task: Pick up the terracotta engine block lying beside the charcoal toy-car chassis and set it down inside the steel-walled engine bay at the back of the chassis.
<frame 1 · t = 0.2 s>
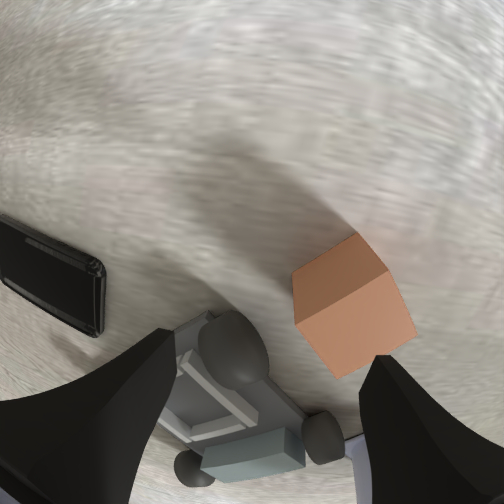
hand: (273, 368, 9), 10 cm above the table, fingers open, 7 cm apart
engine block: (341, 279, 18), on the table
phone: (46, 269, 22), on the table
chassis: (214, 409, 24), on the table
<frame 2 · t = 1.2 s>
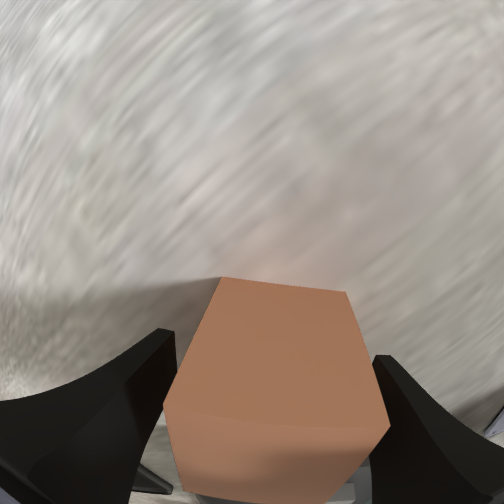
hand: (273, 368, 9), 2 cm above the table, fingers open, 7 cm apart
engine block: (275, 340, 11), on the table
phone: (103, 462, 20), on the table
chassis: (318, 492, 16), on the table
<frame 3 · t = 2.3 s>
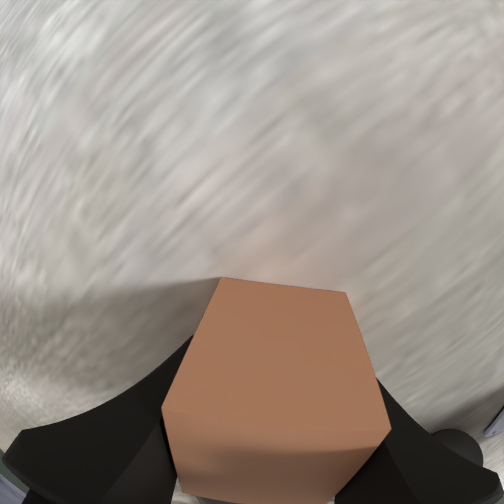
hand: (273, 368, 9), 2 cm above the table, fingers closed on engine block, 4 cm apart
engine block: (274, 341, 11), on the table, touching gripper
chassis: (318, 492, 16), on the table
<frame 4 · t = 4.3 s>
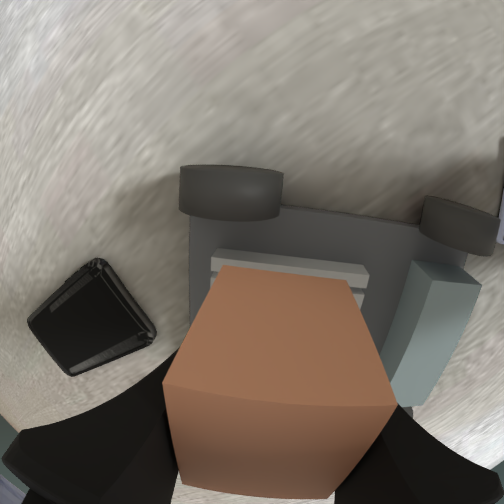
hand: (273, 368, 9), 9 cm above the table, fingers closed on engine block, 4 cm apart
engine block: (276, 330, 11), point 7 cm above the table, touching gripper
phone: (84, 323, 22), on the table
chassis: (326, 315, 19), on the table
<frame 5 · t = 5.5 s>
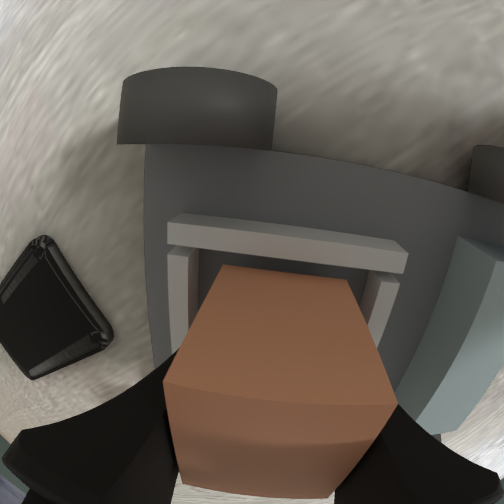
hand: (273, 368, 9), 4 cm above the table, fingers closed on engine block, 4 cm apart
engine block: (276, 330, 11), point 2 cm above the table, touching gripper
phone: (38, 318, 17), on the table
chassis: (338, 316, 13), on the table
when the fingers open (4 cm above the table, at t = 6.3 s): engine block drops 1 cm, resting on chassis.
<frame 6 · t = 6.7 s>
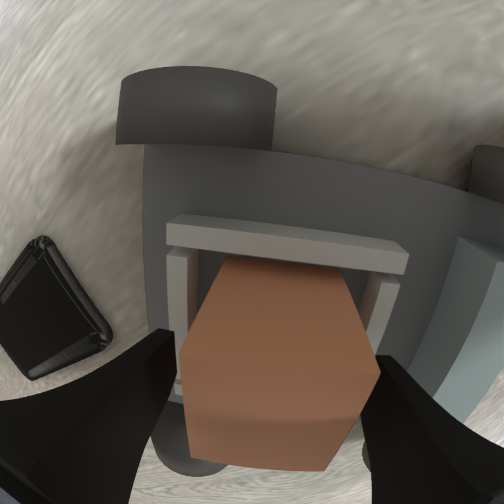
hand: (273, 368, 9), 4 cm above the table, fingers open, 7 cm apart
engine block: (276, 315, 12), point 1 cm above the table, touching chassis
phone: (37, 318, 17), on the table
chassis: (338, 317, 13), on the table
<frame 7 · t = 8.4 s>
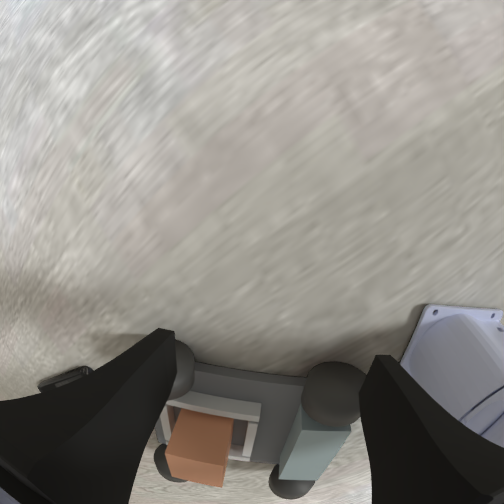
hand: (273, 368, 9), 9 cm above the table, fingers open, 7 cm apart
engine block: (209, 420, 23), point 1 cm above the table, touching chassis
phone: (81, 395, 27), on the table
chassis: (242, 420, 24), on the table
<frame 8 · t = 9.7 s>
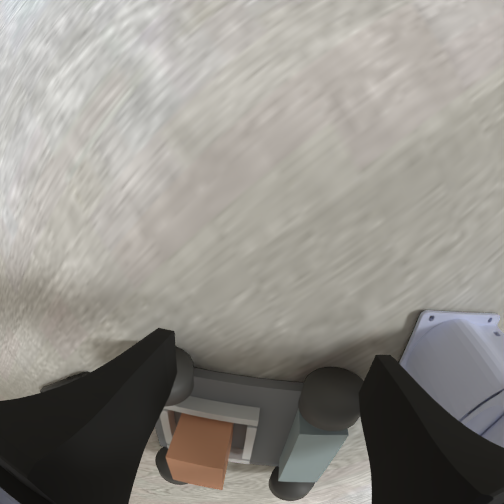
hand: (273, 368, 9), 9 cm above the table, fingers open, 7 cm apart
engine block: (209, 424, 23), point 1 cm above the table, touching chassis
chassis: (242, 423, 24), on the table
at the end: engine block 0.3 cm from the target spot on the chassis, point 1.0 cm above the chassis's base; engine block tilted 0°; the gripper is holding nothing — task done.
